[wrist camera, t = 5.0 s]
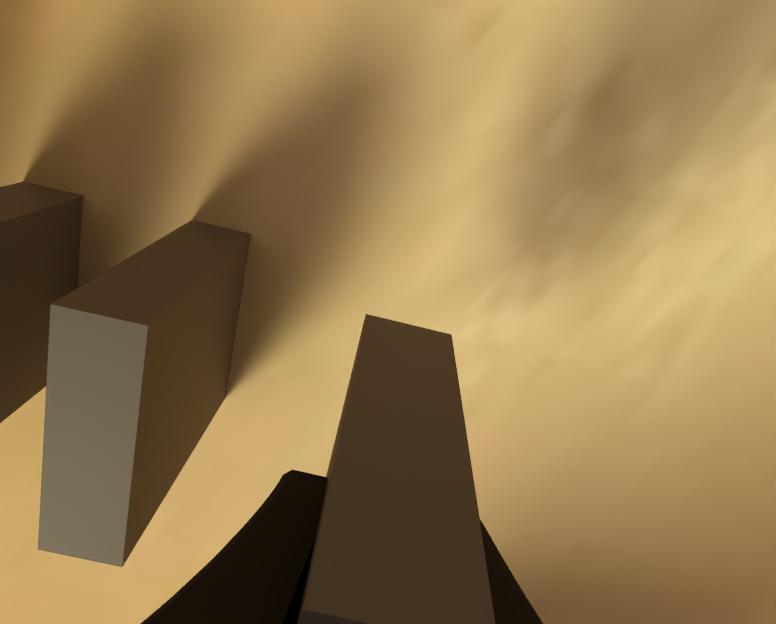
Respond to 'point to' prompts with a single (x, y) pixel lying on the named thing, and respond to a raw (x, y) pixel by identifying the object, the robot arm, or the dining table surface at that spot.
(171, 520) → the dining table surface
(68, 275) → the domino
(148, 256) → the domino
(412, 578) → the loose domino
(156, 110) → the dining table surface
